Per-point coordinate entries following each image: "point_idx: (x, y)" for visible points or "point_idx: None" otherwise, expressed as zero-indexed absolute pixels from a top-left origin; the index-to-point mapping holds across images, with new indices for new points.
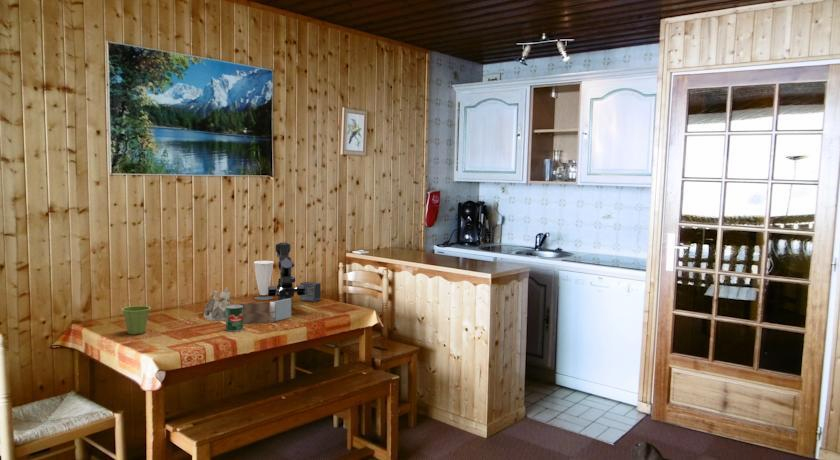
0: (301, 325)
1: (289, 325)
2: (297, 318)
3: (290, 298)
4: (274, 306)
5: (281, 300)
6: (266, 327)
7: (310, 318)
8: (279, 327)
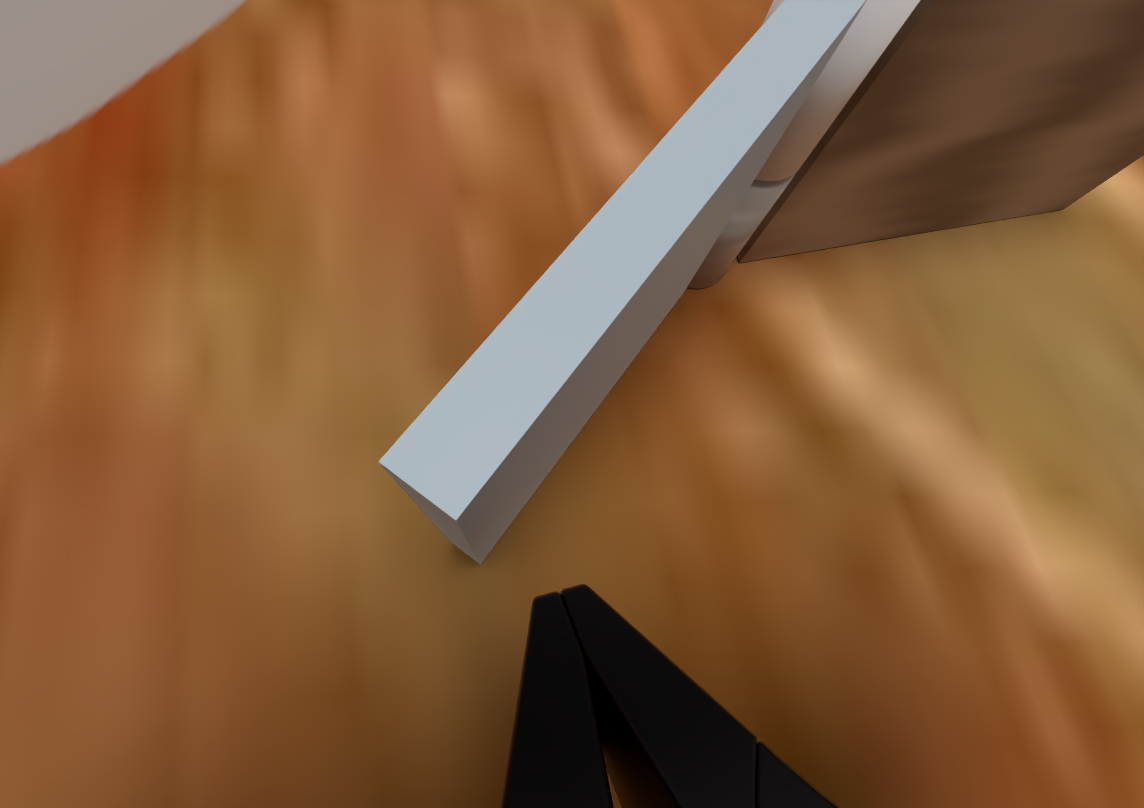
0: (245, 71)
1: (418, 84)
2: (325, 497)
3: (412, 457)
4: (766, 19)
5: (700, 98)
6: (686, 28)
7: (54, 503)
8: (533, 14)
